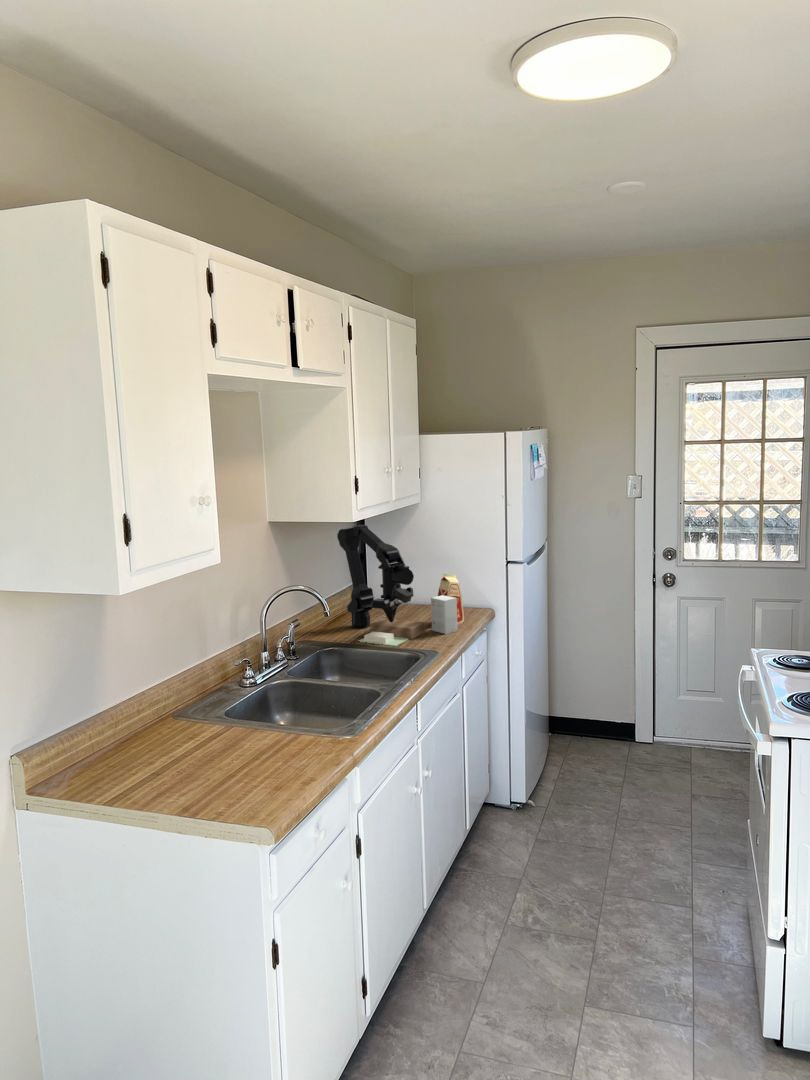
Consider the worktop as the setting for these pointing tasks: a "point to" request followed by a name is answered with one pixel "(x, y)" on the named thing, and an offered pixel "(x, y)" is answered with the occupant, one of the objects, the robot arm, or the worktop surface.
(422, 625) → the brown wooden block
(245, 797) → the worktop surface
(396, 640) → the mat
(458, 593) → the milk carton
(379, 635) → the cream white eraser block
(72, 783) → the worktop surface
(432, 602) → the small box
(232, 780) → the worktop surface
